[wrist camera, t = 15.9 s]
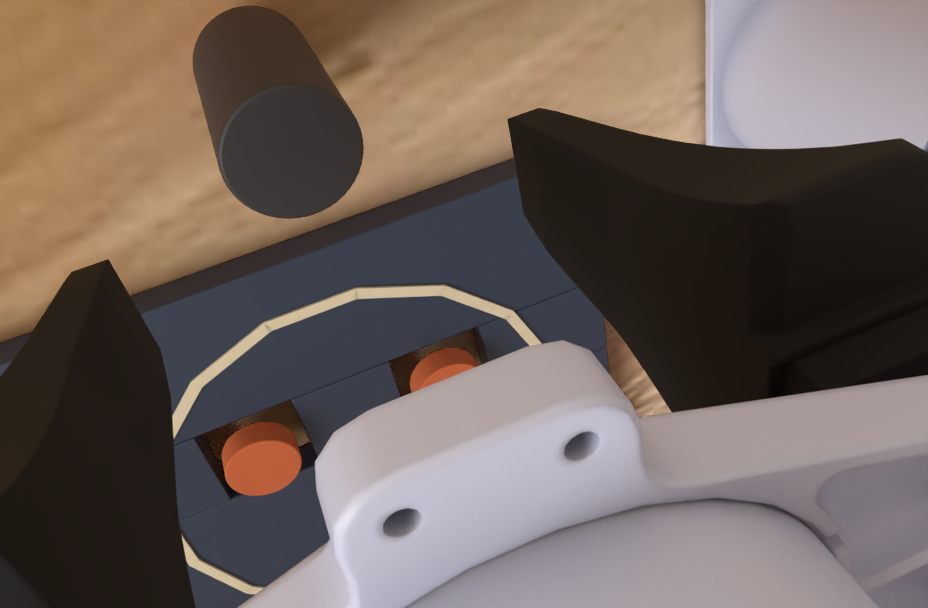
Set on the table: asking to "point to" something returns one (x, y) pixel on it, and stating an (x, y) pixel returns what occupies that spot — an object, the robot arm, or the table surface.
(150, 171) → the table surface
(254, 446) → the eye
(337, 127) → the marker
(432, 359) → the eye
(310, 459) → the face board
